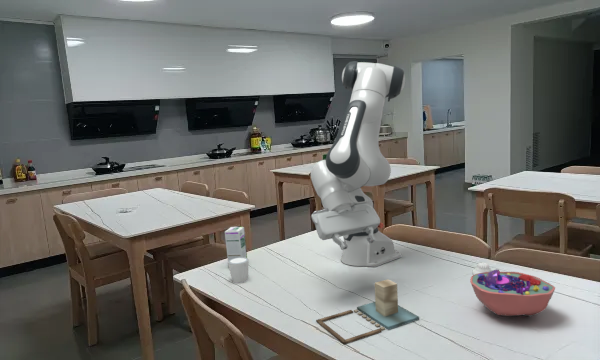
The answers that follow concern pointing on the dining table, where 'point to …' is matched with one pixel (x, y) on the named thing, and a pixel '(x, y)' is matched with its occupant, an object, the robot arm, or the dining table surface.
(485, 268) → the muffin
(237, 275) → the white cylinder
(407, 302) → the dining table surface
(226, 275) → the dining table surface
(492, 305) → the cell model
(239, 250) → the syrup box
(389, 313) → the birch stub block
